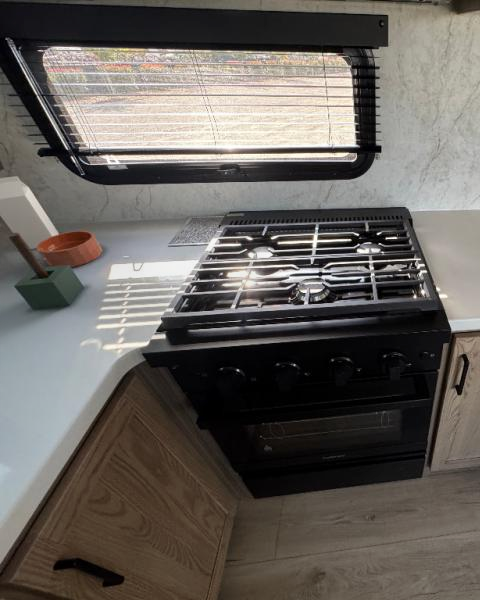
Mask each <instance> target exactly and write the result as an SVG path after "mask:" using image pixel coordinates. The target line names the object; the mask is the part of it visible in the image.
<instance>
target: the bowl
mask: <svg viewBox="0 0 480 600" xmlns="http://www.w3.org/2000/svg"><path fill="white" fill-rule="evenodd" d="M35 249H36V251H38V253H39V254H40V256H41V257H42V259H43V260H44V261H45V263H46V264H47V266H48V267H52V266H63V265H70V267H71V268H75V267H80V266H82V265H85V264H88V263H91V262H93V261H94V260H96V259H97V258H99V257H100V256H101V255H102V253H103V248H102V246H101V244H100V243H99V241H98V240H97V238H96V235H95V234H93V232H91V231H88V230H73V231H67V232H61V233H59V234H58V235H55V236H52V237H49V238H47V239H45V240H43V241H41V242H40V243H39V244H38V245H37V247H36V248H35Z"/></svg>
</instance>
